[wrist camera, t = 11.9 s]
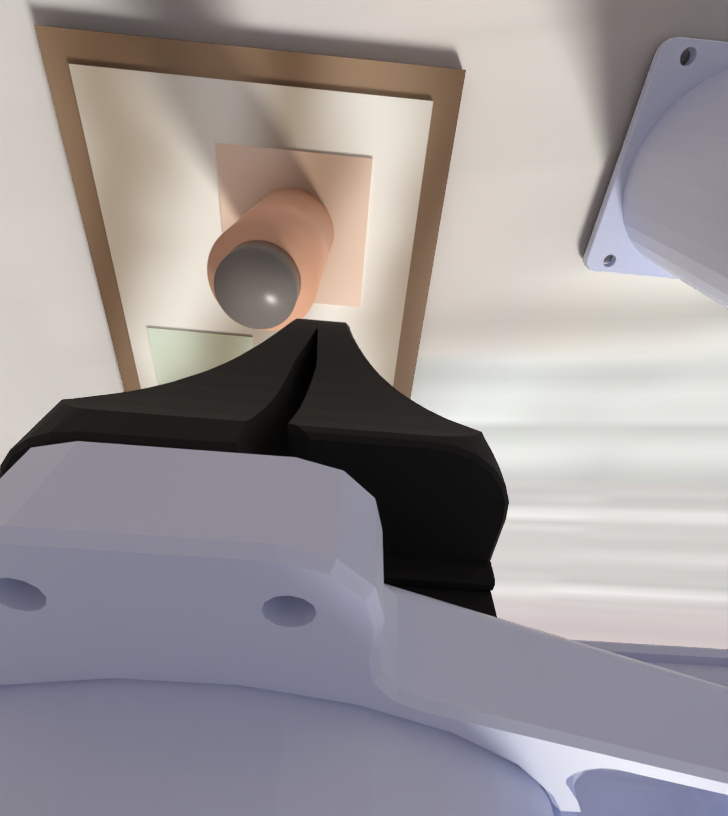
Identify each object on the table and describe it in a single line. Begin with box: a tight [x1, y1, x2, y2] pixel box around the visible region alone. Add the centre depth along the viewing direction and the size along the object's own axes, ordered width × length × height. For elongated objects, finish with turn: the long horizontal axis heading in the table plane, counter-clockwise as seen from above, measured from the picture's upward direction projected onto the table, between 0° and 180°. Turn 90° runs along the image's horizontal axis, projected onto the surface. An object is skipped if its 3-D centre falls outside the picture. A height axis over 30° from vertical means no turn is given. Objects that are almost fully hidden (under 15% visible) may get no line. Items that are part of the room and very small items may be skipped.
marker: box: [207, 188, 334, 331], centre depth 16 cm, size 3×3×7 cm
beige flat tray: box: [34, 25, 466, 399], centre depth 22 cm, size 15×21×1 cm
